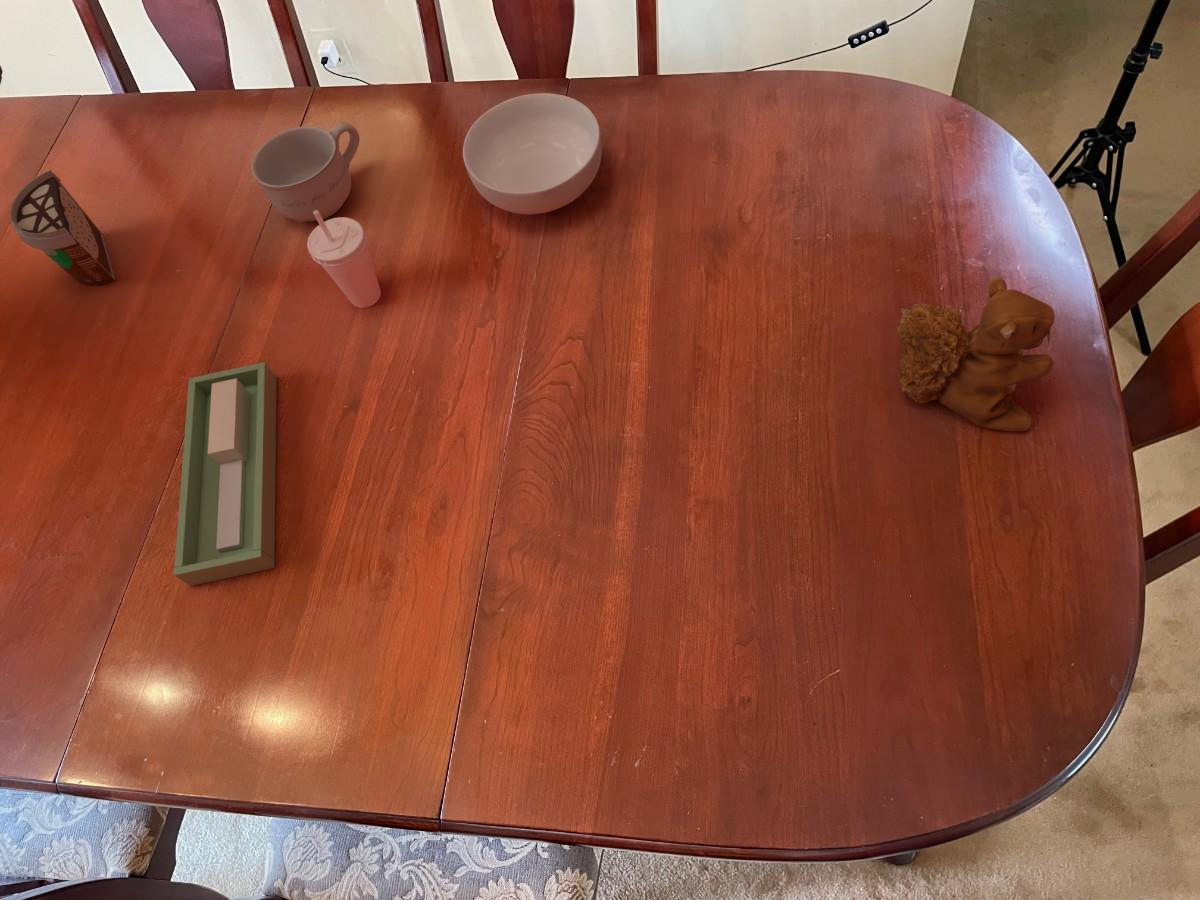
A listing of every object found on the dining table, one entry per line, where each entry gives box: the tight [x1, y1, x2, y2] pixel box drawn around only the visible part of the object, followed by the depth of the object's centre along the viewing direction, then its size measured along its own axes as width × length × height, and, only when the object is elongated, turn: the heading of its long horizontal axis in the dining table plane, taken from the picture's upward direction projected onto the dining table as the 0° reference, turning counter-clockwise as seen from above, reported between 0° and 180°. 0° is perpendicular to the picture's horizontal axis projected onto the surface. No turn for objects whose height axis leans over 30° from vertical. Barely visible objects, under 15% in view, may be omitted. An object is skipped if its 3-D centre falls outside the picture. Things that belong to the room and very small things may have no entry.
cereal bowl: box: [462, 92, 603, 215], centre depth 103 cm, size 17×17×7 cm
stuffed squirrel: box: [896, 277, 1056, 433], centre depth 80 cm, size 10×14×13 cm
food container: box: [9, 169, 116, 286], centre depth 104 cm, size 12×6×10 cm, turn 27°
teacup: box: [250, 121, 360, 222], centre depth 106 cm, size 14×11×8 cm
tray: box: [173, 361, 278, 587], centre depth 89 cm, size 24×9×3 cm, turn 10°
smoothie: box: [306, 210, 382, 309], centre depth 94 cm, size 6×6×14 cm
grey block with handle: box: [208, 378, 249, 552], centre depth 88 cm, size 19×3×3 cm, turn 11°
